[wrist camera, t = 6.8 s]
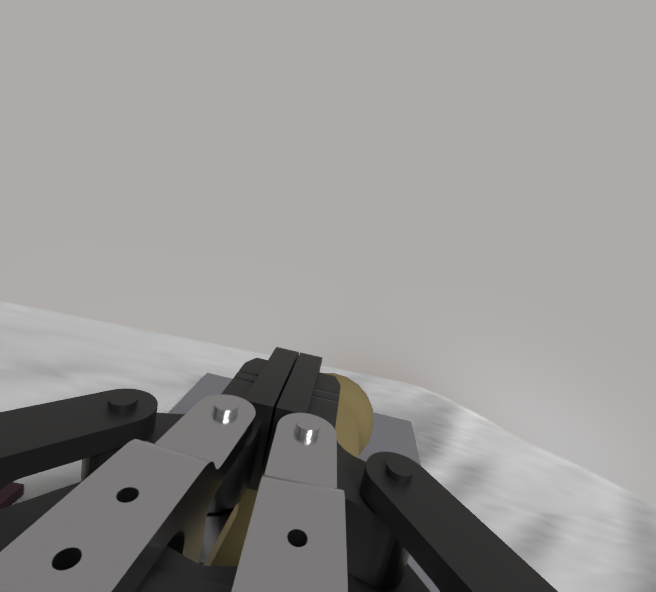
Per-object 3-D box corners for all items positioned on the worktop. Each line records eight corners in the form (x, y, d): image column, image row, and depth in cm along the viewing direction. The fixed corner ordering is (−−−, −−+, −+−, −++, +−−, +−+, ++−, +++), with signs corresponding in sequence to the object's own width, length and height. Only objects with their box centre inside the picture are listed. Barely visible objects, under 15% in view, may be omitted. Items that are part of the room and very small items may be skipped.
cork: (193, 600, 15) (287, 438, 25) (349, 646, 13) (379, 455, 24) (189, 462, 13) (289, 352, 24) (361, 499, 12) (388, 365, 22)
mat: (454, 649, 14) (458, 638, 14) (53, 544, 15) (54, 531, 15) (408, 428, 29) (410, 421, 29) (206, 379, 30) (207, 372, 30)
